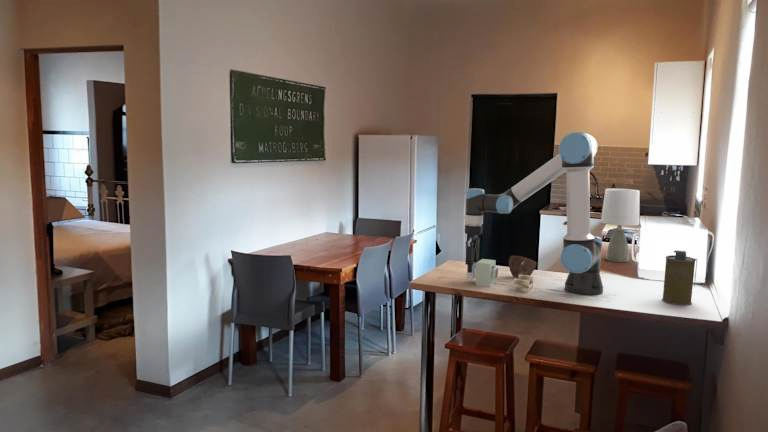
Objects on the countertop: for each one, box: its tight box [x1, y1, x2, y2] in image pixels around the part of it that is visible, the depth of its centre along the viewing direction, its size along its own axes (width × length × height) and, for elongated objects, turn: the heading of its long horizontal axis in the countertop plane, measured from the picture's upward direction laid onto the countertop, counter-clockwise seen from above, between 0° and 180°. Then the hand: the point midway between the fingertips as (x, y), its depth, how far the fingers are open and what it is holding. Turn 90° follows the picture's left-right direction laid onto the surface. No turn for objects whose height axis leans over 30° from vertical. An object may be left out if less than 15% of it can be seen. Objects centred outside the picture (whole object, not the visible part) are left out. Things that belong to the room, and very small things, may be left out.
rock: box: [507, 255, 538, 279], centre depth 265 cm, size 12×10×10 cm
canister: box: [661, 250, 698, 306], centre depth 231 cm, size 11×10×20 cm
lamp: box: [600, 187, 640, 263], centre depth 309 cm, size 19×19×37 cm
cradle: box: [513, 274, 534, 293], centre depth 247 cm, size 6×11×4 cm, turn 156°
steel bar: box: [473, 265, 499, 280], centre depth 254 cm, size 12×4×4 cm, turn 66°
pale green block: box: [475, 258, 497, 288], centre depth 254 cm, size 6×9×10 cm, turn 156°
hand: (471, 278), depth 256 cm, fingers closed on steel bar, 4 cm apart
